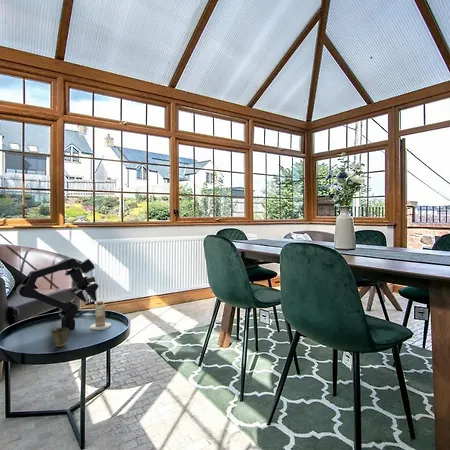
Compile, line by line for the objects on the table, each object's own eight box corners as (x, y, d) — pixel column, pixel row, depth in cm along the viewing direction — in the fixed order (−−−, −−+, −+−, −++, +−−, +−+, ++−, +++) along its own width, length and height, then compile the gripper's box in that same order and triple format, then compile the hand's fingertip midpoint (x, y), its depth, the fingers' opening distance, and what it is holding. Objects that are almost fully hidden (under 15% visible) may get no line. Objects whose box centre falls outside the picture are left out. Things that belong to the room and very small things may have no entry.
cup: (63, 342, 161) (62, 326, 161) (72, 345, 158) (72, 328, 158) (48, 347, 155) (47, 330, 155) (57, 350, 151) (57, 332, 151)
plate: (92, 331, 177) (91, 329, 177) (88, 326, 187) (88, 324, 187) (113, 327, 183) (113, 325, 183) (108, 322, 192) (108, 321, 192)
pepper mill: (102, 326, 182) (101, 303, 182) (93, 326, 183) (93, 302, 183) (106, 324, 187) (106, 300, 187) (98, 323, 188) (98, 300, 188)
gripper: (99, 269, 188) (111, 292, 193) (78, 272, 198) (90, 294, 202) (84, 279, 179) (97, 303, 184) (63, 282, 189) (76, 305, 193)
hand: (90, 301), depth 191 cm, fingers open, 9 cm apart
